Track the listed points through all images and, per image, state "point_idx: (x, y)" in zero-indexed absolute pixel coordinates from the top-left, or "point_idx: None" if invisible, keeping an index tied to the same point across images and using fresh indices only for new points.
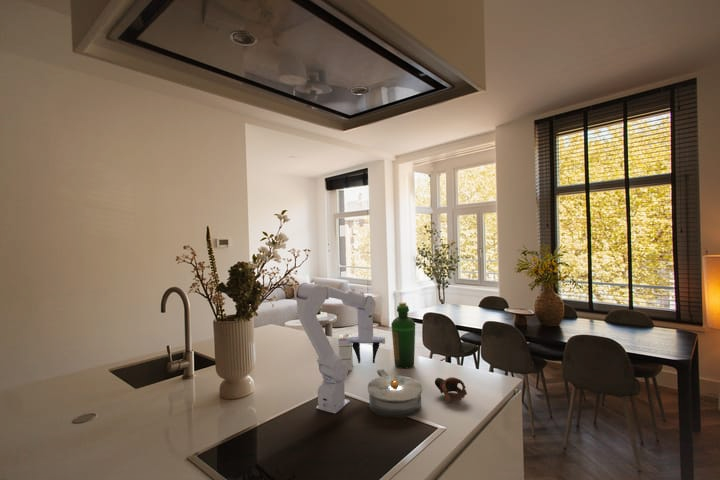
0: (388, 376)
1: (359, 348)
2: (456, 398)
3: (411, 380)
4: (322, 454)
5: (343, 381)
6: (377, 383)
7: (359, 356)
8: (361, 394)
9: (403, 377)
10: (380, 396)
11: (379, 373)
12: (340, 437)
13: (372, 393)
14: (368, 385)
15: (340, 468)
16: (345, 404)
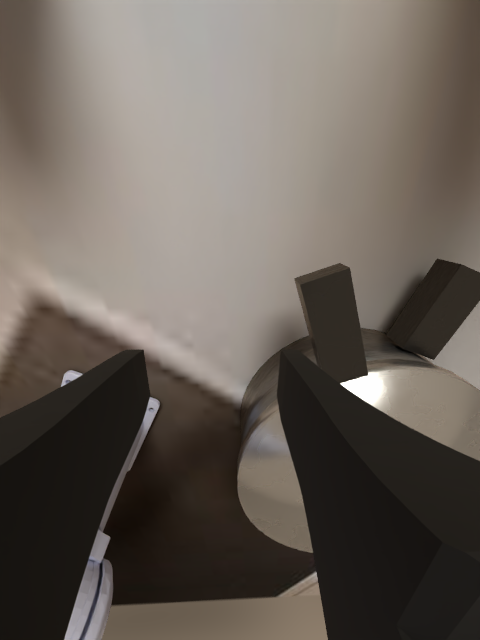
0: (362, 386)
1: (43, 507)
2: None
3: (477, 429)
4: (153, 576)
5: (104, 524)
6: (286, 462)
7: (120, 450)
8: (199, 339)
9: (450, 397)
10: (291, 547)
11: (310, 328)
12: (176, 540)
13: (260, 528)
14: (240, 480)
15: (197, 595)
16: (149, 427)
